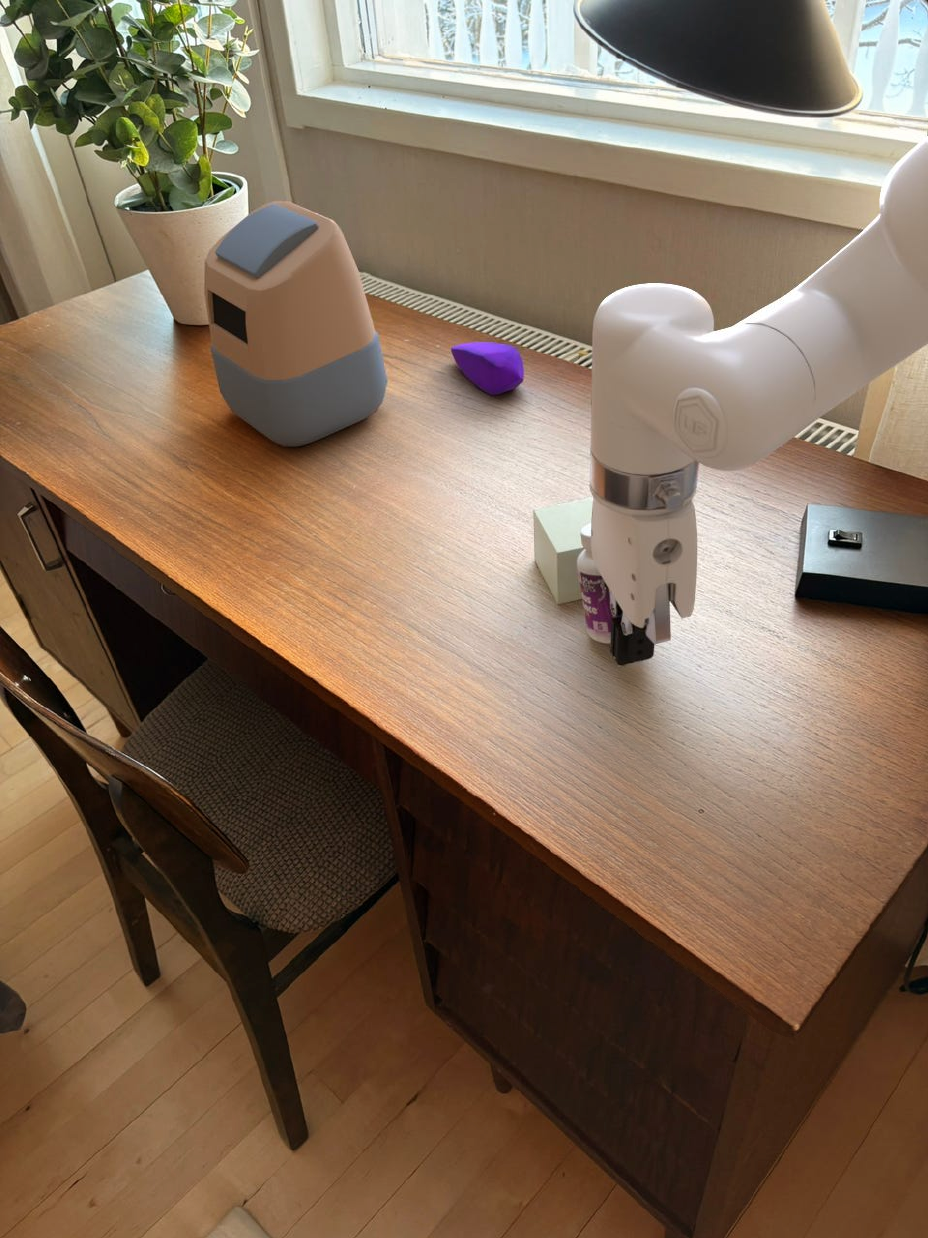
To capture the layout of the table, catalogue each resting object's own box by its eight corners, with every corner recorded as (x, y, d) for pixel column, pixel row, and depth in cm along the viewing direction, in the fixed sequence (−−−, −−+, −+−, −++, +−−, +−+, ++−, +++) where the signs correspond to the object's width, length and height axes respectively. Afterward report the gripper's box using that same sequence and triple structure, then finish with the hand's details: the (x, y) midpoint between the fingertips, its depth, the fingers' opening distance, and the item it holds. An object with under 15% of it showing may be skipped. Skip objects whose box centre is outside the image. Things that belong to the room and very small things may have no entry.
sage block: (629, 588, 87) (632, 536, 83) (557, 604, 86) (557, 552, 82) (602, 545, 92) (604, 494, 88) (534, 559, 91) (532, 509, 87)
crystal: (464, 325, 123) (536, 352, 112) (469, 361, 125) (539, 391, 115) (434, 336, 121) (503, 365, 110) (439, 372, 124) (508, 404, 113)
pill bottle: (576, 632, 83) (559, 529, 79) (627, 613, 85) (613, 511, 81) (608, 651, 78) (592, 543, 75) (661, 631, 80) (648, 524, 76)
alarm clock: (216, 414, 117) (164, 224, 102) (329, 368, 125) (295, 184, 109) (285, 466, 107) (237, 263, 92) (403, 412, 114) (377, 216, 99)
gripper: (743, 516, 61) (713, 708, 73) (650, 408, 72) (638, 591, 84) (634, 540, 60) (623, 731, 72) (557, 427, 71) (559, 610, 83)
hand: (631, 655), depth 78 cm, fingers closed
